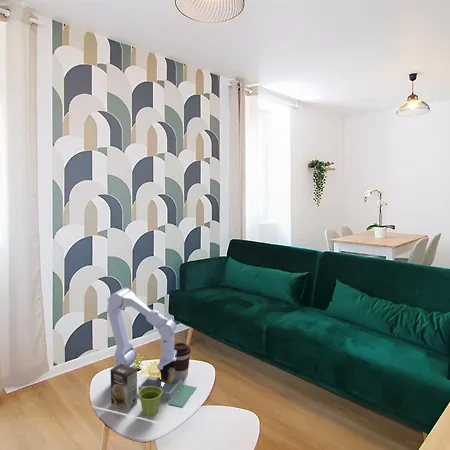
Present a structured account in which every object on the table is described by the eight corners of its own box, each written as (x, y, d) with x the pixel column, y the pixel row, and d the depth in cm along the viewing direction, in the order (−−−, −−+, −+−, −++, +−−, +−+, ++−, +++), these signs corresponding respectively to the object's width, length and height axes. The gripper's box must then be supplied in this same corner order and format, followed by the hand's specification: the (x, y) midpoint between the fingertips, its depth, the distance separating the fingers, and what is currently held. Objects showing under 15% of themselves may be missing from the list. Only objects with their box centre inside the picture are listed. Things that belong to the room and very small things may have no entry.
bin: (138, 393, 163) (138, 386, 163) (152, 379, 175) (152, 372, 174) (170, 401, 159) (170, 393, 158) (182, 385, 170) (182, 378, 170)
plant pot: (151, 402, 158) (151, 383, 157) (167, 411, 152) (166, 391, 151) (133, 413, 151) (133, 393, 149) (148, 423, 145) (148, 402, 143)
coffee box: (110, 406, 155) (109, 369, 153) (121, 398, 160) (120, 362, 158) (127, 412, 151) (126, 375, 148) (138, 404, 156) (137, 368, 154)
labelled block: (160, 381, 164) (160, 370, 163) (165, 376, 168) (165, 365, 167) (170, 383, 162) (170, 372, 161) (174, 378, 166) (174, 367, 166)
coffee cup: (188, 381, 174) (188, 351, 172) (167, 380, 175) (167, 350, 172) (192, 370, 184) (192, 341, 182) (172, 369, 184) (172, 340, 182)
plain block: (146, 389, 166) (146, 378, 166) (151, 383, 171) (151, 373, 170) (155, 390, 165) (155, 380, 164) (160, 385, 169) (160, 375, 169)
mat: (168, 405, 156) (168, 403, 156) (183, 386, 170) (183, 384, 170) (182, 408, 154) (182, 406, 154) (196, 388, 168) (196, 387, 168)
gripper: (168, 357, 155) (168, 387, 157) (182, 342, 169) (182, 370, 170) (153, 354, 157) (153, 384, 159) (168, 339, 171) (168, 367, 173)
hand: (167, 376), depth 165 cm, fingers closed on labelled block, 4 cm apart
